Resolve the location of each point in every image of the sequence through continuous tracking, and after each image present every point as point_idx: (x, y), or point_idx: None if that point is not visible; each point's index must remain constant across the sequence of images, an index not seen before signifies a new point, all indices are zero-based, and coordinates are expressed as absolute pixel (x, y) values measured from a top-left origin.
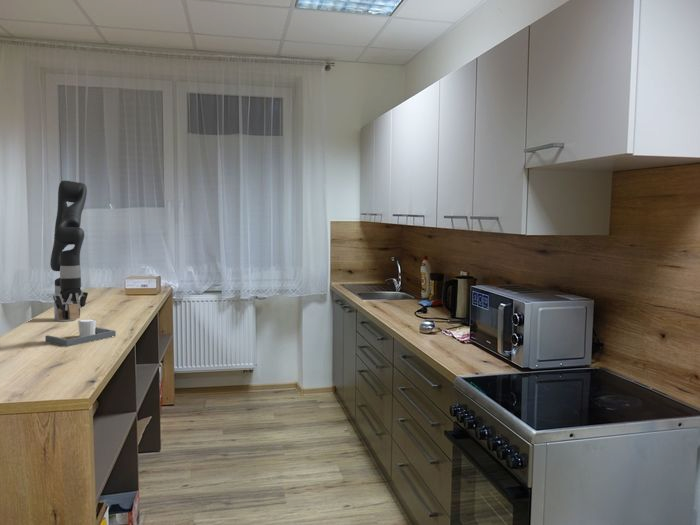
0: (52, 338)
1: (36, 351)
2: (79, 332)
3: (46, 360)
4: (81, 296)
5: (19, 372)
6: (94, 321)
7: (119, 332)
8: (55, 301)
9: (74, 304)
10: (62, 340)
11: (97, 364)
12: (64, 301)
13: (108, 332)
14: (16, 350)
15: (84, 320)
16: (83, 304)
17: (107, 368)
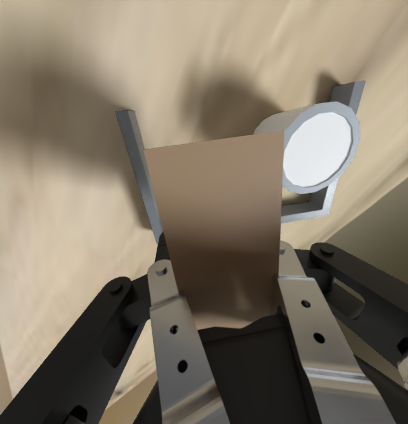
0: (134, 167)
1: (70, 232)
2: (260, 132)
3: (82, 311)
4: (402, 368)
5: (26, 347)
6: (321, 187)
7: (369, 159)
8: (36, 393)
9: (239, 327)
10: (151, 224)
11: (151, 355)
12: (175, 335)
13: (301, 219)
14: (4, 180)
15: (314, 137)
16: (321, 291)
17: (154, 370)
